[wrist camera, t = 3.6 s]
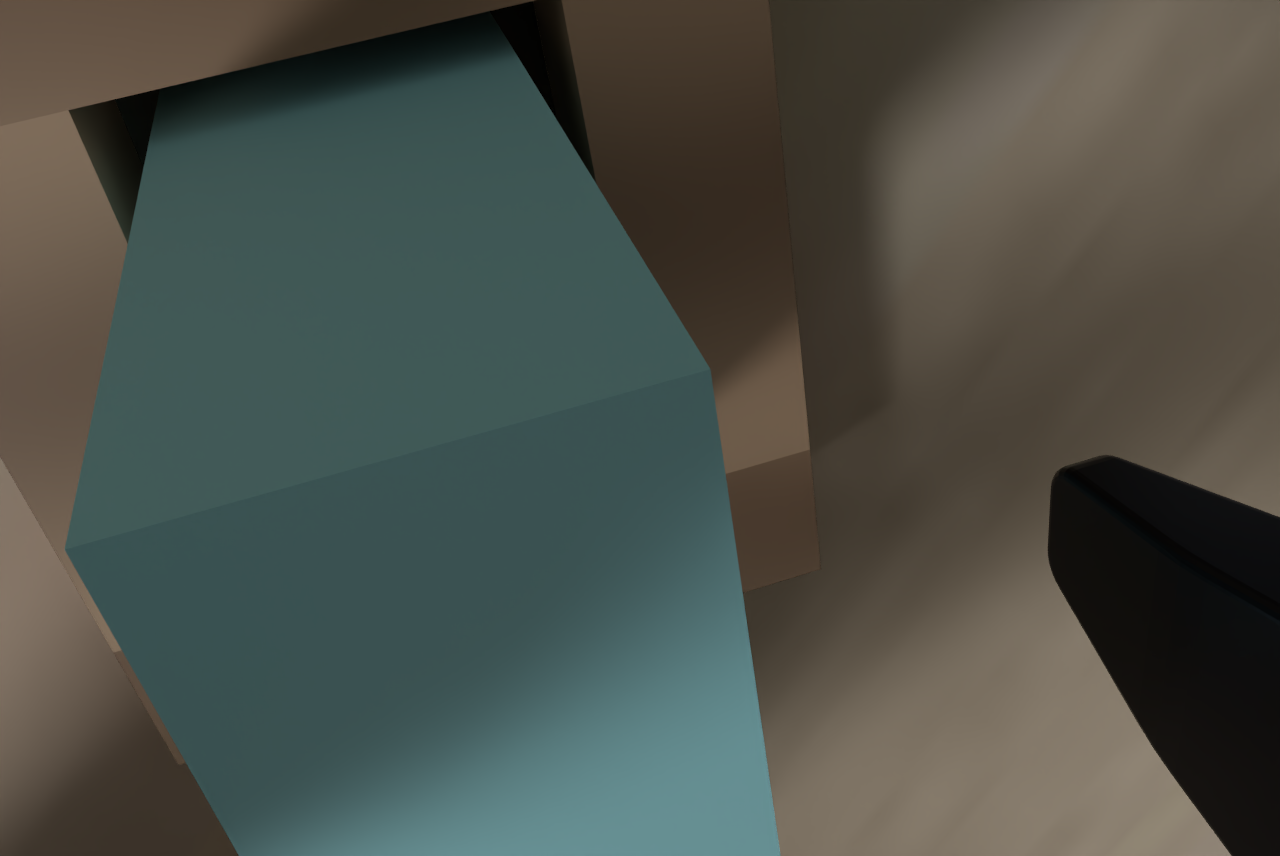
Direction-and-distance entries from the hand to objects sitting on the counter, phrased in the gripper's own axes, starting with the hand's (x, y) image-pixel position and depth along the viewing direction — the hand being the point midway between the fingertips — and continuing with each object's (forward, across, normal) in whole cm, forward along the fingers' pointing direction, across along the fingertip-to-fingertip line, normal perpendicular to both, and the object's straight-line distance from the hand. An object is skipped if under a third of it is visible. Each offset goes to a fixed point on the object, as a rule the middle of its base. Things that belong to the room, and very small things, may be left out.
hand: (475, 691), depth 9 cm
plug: (+7, 0, 0) cm, 7 cm away
